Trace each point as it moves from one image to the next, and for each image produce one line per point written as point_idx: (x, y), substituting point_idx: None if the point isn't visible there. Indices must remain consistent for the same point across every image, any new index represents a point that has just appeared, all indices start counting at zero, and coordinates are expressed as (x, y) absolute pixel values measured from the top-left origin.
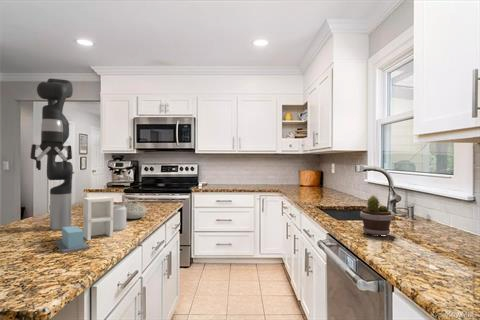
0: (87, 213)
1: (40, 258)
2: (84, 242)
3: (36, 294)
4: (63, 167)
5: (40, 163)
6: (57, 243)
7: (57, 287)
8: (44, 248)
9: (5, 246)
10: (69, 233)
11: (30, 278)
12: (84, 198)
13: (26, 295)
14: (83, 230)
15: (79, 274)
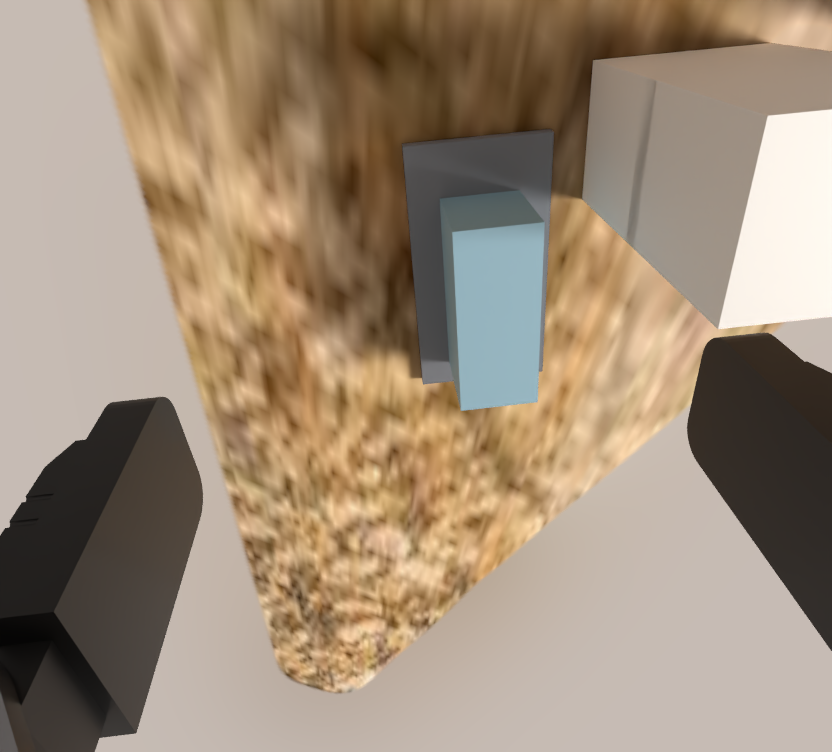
0: (658, 251)
1: (332, 399)
2: (543, 283)
3: (333, 643)
4: (717, 484)
5: (151, 646)
6: (413, 221)
7: (377, 631)
8: (345, 241)
9: (102, 38)
10: (464, 408)
11: (312, 562)
12: (752, 172)
13: (313, 640)
14: (609, 84)
15: (437, 587)
